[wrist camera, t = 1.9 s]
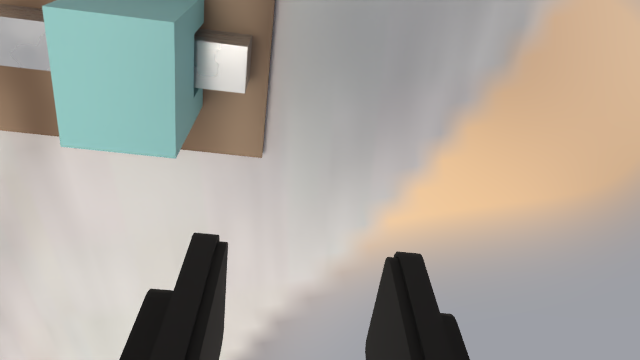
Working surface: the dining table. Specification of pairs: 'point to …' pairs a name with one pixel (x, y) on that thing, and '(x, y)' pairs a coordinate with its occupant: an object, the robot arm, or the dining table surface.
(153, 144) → the slider
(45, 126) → the board
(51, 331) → the dining table surface
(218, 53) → the rail
